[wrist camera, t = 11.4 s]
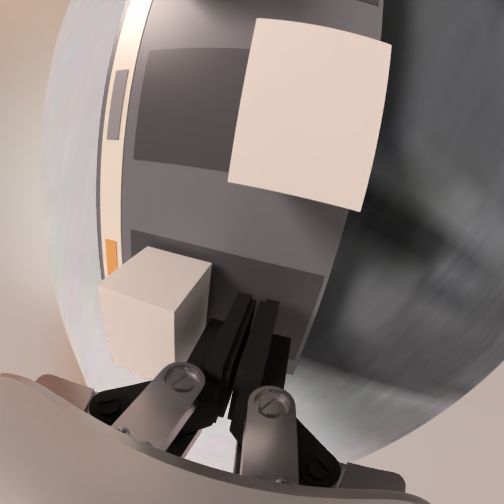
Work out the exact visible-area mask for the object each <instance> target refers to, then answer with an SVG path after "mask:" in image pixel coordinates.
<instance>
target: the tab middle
mask: <svg viewBox="0 0 504 504" xmlns="http://www.w3.org/2000/svg"><path fill="white" fill-rule="evenodd" d="M391 48H392V45H390V44H387V43H384V42H381V41H378V40H375V39H372V38H369V37H365V36H362V35H358V34H354V33H350V32H346V31H342V30H338V29H333V28H329V27H324V26H319V25H313V24H307V23H301V22H294V21H286V20H276V19H265V18H257V19H256V24H255V29H254V33H253V38H252V43H251V48H250V53H249V58H248V63H247V68H246V74H245V79H244V84H243V90H242V95H241V101H240V107H239V113H238V118H237V124H236V130H235V136H234V143H233V149H232V155H231V162H230V168H229V175H228V182H231V183H236V184H241V185H246V186H251V187H256V188H261V189H266V190H271V191H276V192H280V193H285V194H289V195H294V196H298V197H302V198H307V199H311V200H315V201H319V202H323V203H327V204H331V205H335V206H339V207H343V208H347V209H350V210H354V211H358V212H361V208H362V204H363V201H364V197H365V193H366V189H367V185H368V181H369V177H370V173H371V169H372V164H373V160H374V155H375V151H376V146H377V141H378V136H379V131H380V126H381V120H382V115H383V109H384V103H385V96H386V90H387V83H388V75H389V67H390V58H391Z"/></svg>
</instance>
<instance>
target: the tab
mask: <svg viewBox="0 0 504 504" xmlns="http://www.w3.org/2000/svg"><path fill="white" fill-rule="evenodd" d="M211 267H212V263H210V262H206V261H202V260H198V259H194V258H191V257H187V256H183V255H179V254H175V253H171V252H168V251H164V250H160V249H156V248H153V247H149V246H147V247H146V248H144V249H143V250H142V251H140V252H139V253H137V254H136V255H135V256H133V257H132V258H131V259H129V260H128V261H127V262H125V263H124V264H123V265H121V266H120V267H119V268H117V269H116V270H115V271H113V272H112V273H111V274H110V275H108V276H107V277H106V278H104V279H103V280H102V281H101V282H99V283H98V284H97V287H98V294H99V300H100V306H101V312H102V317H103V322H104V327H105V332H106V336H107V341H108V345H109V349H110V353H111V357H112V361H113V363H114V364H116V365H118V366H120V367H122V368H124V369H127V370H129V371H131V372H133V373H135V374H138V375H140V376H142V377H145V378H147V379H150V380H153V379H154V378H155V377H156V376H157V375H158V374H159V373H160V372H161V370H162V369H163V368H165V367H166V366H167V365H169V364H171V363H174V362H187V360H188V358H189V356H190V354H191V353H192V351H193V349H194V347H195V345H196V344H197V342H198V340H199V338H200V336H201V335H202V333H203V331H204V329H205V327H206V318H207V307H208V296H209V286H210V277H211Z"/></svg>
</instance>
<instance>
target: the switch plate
mask: <svg viewBox="0 0 504 504" xmlns="http://www.w3.org/2000/svg"><path fill="white" fill-rule="evenodd" d="M257 18H265V19H276V20H286V21H294V22H301V23H307V24H313V25H319V26H324V27H329V28H333V29H338V30H342V31H346V32H350V33H354V34H358V35H362V36H365V37H369V38H372V39H375V40H378V41H381V31H382V18H383V0H127V1H126V4H125V7H124V10H123V13H122V16H121V20H120V23H119V26H118V30H117V34H116V37H115V41H114V45H113V49H112V54H111V58H110V63H109V68H108V73H107V78H106V84H105V90H104V96H103V103H102V110H101V119H100V128H99V139H98V154H97V179H96V207H97V233H98V248H99V259H100V269H101V278H102V280H103V279H104V278H106V277H107V276H108V275H110V274H111V273H112V272H113V271H115V270H116V269H117V268H119V267H120V266H121V265H123V264H124V263H125V262H127V261H128V260H129V259H131V258H132V257H133V256H135V255H136V254H137V253H139V252H140V251H142V250H143V249H144V248H146V247H147V246H149V247H153V248H156V249H160V250H164V251H168V252H171V253H175V254H179V255H183V256H187V257H191V258H194V259H198V260H202V261H206V262H210V263H212V267H211V277H210V286H209V296H208V307H207V318H206V326H207V324H208V322H209V320H210V319H211V318H214V319H218V320H222V321H225V319H226V317H227V315H228V312H229V310H230V308H231V306H232V304H233V302H234V300H235V298H236V296H237V294H238V292H242V293H246V294H250V295H252V299H255V300H256V305H255V310H254V315H253V320H252V325H253V322H254V319H255V316H256V313H257V310H258V307H259V304H260V301H264V302H266V299H271V300H275V301H279V302H280V304H279V309H278V313H277V318H276V322H275V327H274V331H273V334H277V335H281V336H286V337H290V338H291V344H290V351H289V358H288V365H287V371H286V373H287V374H292V375H293V373H294V370H295V368H296V365H297V363H298V361H299V358H300V356H301V353H302V351H303V348H304V346H305V343H306V340H307V338H308V335H309V333H310V330H311V327H312V325H313V322H314V319H315V316H316V314H317V311H318V308H319V305H320V302H321V300H322V297H323V294H324V291H325V288H326V285H327V282H328V279H329V276H330V273H331V270H332V267H333V263H334V260H335V257H336V254H337V250H338V247H339V244H340V240H341V237H342V234H343V230H344V227H345V223H346V219H347V216H348V212H349V209H347V208H343V207H339V206H335V205H331V204H327V203H323V202H319V201H315V200H311V199H307V198H302V197H298V196H294V195H289V194H285V193H280V192H276V191H271V190H266V189H261V188H256V187H251V186H246V185H241V184H236V183H231V182H228V175H229V168H230V162H231V155H232V149H233V143H234V136H235V130H236V124H237V118H238V113H239V107H240V101H241V95H242V90H243V84H244V79H245V74H246V68H247V63H248V58H249V53H250V48H251V43H252V38H253V33H254V29H255V24H256V19H257ZM252 325H251V328H252ZM250 331H251V330H250Z"/></svg>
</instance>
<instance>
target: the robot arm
mask: <svg viewBox="0 0 504 504" xmlns="http://www.w3.org/2000/svg"><path fill="white" fill-rule="evenodd" d="M279 304H280V302H279V301H275V300H271V299H266V302H264V301H260V304H259V307H258V310H257V313H256V316H255V319H254V322H253V325H252V320H253V315H254V310H255V305H256V300H255V299H252V295H250V294H246V293H242V292H238V294H237V296H236V298H235V300H234V302H233V304H232V306H231V308H230V310H229V312H228V315H227V317H226V319H225V321H222V320H218V319H214V318H211V319H210V320H209V322H208V324H207V326H206V327H205V329H204V331H203V333H202V335H201V336H200V338H199V340H198V342H197V344H196V345H195V347H194V349H193V351H192V353H191V354H190V356H189V358H188V360H187V362H174V363H171V364H169V365H167V366H166V367H165V368H163V369H162V370H161V372H160V373H159V374H158V375H157V376H156V377H155V378H154V379H153V380H152V381H148V382H144V383H139V384H135V385H130V386H126V387H121V388H116V389H111V390H106V391H102V392H99V393H98V392H95V391H94V389H92V388H89V387H86V386H83V385H80V384H76V383H74V382H70V381H68V380H65V379H62V378H60V377H57V376H54V375H50V374H47V375H42V376H41V377H39V378H38V379H37V380H36V381H33V380H30V379H28V378H25V377H22V376H19V375H14V374H9V373H1V374H0V504H430V503H429V502H428V501H426V500H424V499H422V498H420V497H418V496H415V495H412V494H408V493H405V481H404V479H403V478H402V477H401V476H400V475H399V474H396V473H394V472H389V471H383V470H378V469H374V468H369V467H365V466H360V465H356V464H352V463H349V462H348V463H346V464H343V463H340V462H338V461H337V460H336V458H335V457H334V456H333V455H332V454H331V453H330V452H329V451H328V450H327V449H326V448H325V447H324V446H323V445H322V444H321V443H320V442H319V441H318V440H317V439H316V438H315V437H314V436H313V435H312V434H311V433H310V432H309V431H308V430H307V428H306V427H305V426H304V425H303V424H302V423H301V422H300V421H299V420H298V419H297V418H296V408H295V402H294V399H293V398H292V396H291V395H290V394H289V393H288V392H287V391H285V390H284V383H285V377H286V371H287V365H288V358H289V351H290V344H291V338H290V337H286V336H281V335H277V334H273V331H274V327H275V322H276V318H277V313H278V309H279ZM251 325H252V328H251ZM250 330H251V331H250ZM232 391H233V393H232ZM231 394H232V398H231V403H230V408H229V413H228V419H230V420H232V421H231V425H230V432H231V433H232V435H233V436H234V437H235V439H236V440H237V441H236V448H235V457H234V466H233V473H230V472H226V471H222V470H219V469H215V468H212V467H208V466H205V465H202V464H199V463H196V462H193V461H190V460H187V459H184V458H185V456H186V455H187V453H188V452H189V450H190V449H191V447H192V446H193V444H194V443H195V441H196V440H197V438H198V437H199V435H200V433H201V431H202V429H203V428H206V427H208V426H211V425H212V424H213V423H216V420H217V418H218V416H219V417H224V414H225V411H226V408H227V406H228V403H229V400H230V397H231Z"/></svg>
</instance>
